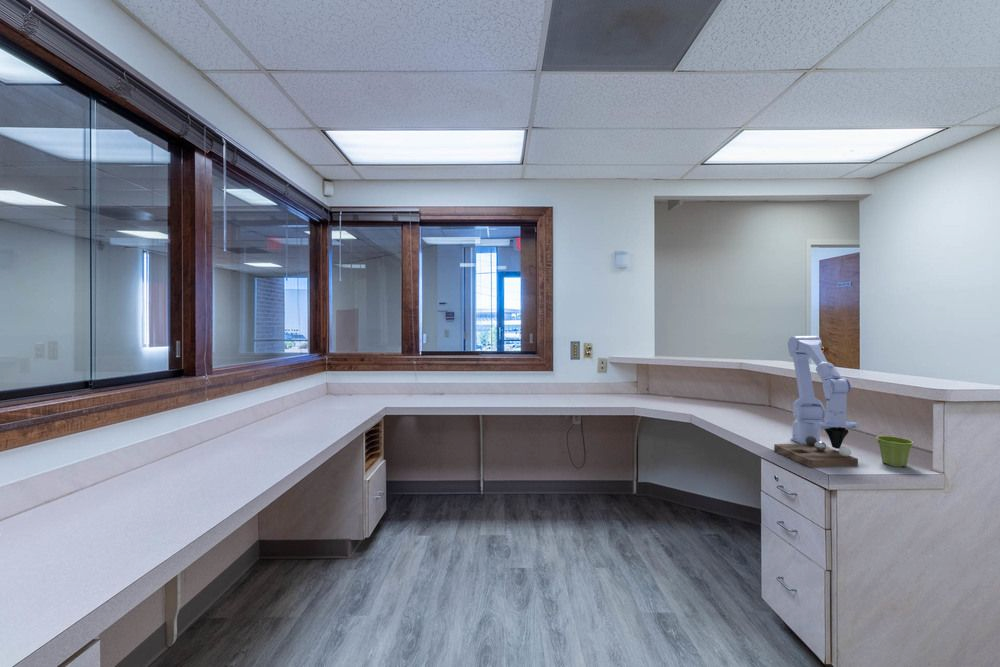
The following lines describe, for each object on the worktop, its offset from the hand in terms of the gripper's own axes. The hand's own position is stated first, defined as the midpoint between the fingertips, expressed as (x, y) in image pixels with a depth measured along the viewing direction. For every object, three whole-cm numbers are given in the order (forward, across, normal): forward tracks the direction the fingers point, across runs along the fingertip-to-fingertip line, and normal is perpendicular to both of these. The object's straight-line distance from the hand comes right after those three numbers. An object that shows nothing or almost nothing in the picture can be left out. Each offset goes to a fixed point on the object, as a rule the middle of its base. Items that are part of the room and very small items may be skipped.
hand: (836, 447), depth 151 cm
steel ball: (-1, -6, 0) cm, 6 cm away
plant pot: (+4, +14, -8) cm, 16 cm away
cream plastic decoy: (-1, -2, -6) cm, 7 cm away
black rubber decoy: (-1, -4, +6) cm, 8 cm away
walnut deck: (+3, -8, 0) cm, 9 cm away
